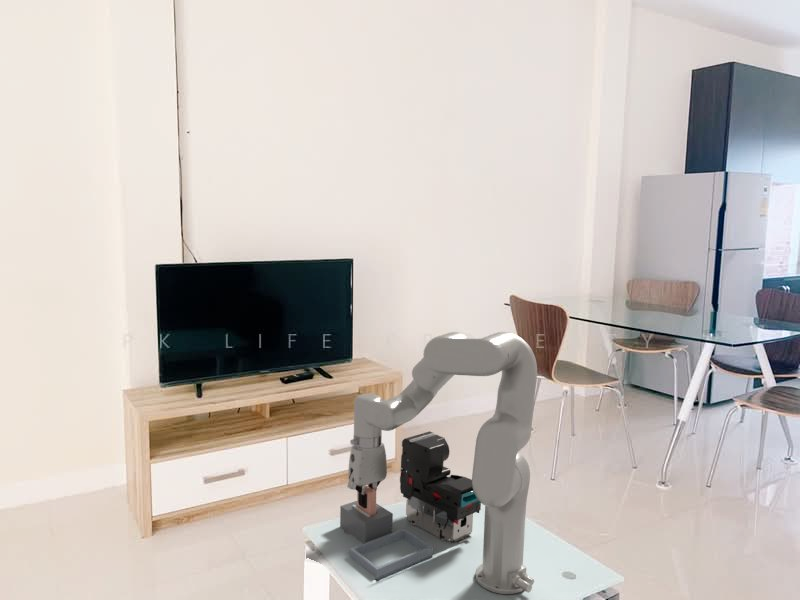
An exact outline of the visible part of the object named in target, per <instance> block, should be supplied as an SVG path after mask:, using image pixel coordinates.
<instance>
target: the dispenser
mask: <svg viewBox="0 0 800 600" xmlns="http://www.w3.org/2000/svg"><path fill="white" fill-rule="evenodd" d="M339 508H340V512H339V514H340V516H339V517H340V518H339V519H340V522H339V523H340V524H339V527H340V528H341V529H343V530H344V531H345V532H347V533H348V534H349V535H350V536H353V538H355V539H356V540H357V541H359V542H361V544H364V543H367V542H369V541H372V540H375V539H377V538H380V537H383V536H385V535H388V534H391V533H393V519H394V518H393V517H394V514H393V513H392V512H391V511H389V510H388V509H387V508H385V507H383V506H382V505H380V504H378V503H376V514H374V515H371V516H370V515H369V514H368V513H366V512H365V511H363V510H361V509H360V508H358V507H357V500H354V501H352V502H349V503H345V504H342V505H340V507H339Z"/></svg>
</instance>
